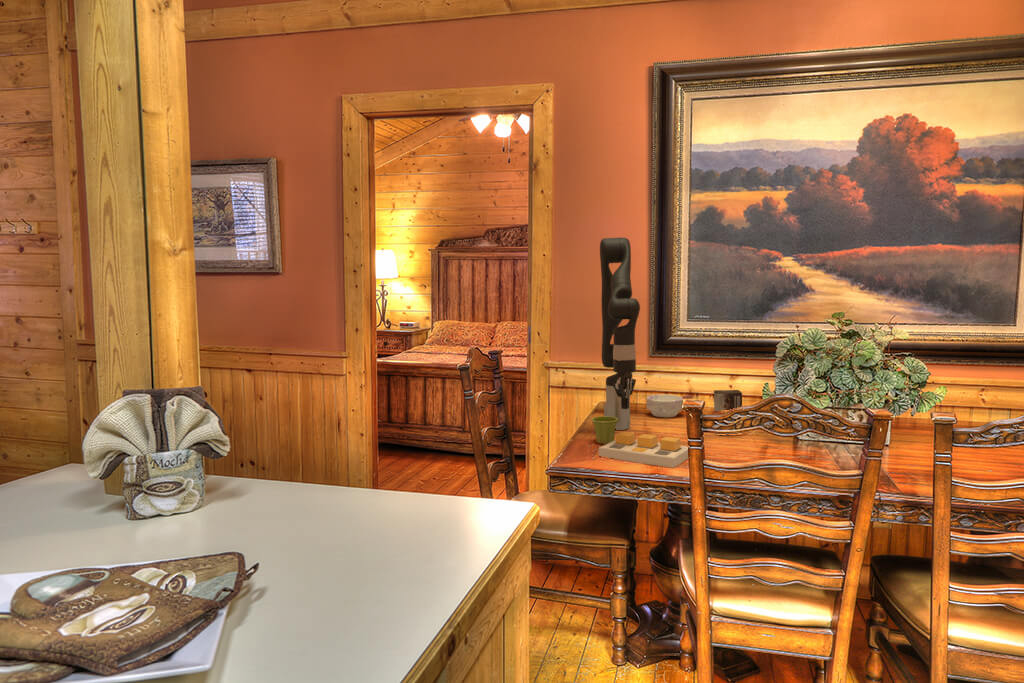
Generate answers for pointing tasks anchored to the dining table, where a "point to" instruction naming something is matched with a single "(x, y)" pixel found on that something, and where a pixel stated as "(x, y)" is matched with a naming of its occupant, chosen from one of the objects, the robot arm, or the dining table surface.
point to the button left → (625, 438)
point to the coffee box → (727, 401)
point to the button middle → (647, 440)
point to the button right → (670, 443)
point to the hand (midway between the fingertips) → (625, 408)
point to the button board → (644, 454)
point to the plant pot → (604, 428)
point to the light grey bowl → (664, 405)
